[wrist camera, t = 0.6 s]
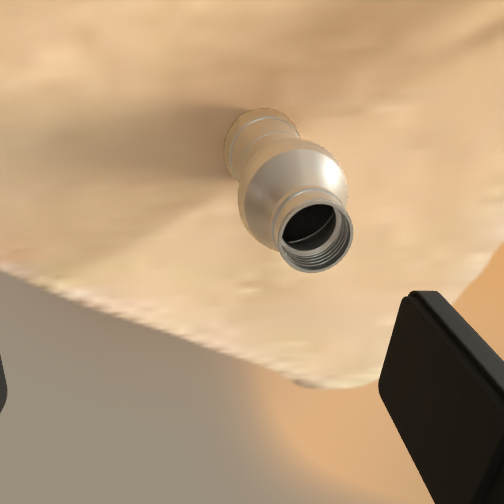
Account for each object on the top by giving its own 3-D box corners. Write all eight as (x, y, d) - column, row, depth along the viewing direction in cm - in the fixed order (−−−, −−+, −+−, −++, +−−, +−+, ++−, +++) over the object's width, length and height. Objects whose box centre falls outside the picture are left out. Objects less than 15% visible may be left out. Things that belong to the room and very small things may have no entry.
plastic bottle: (218, 178, 39) (239, 298, 21) (225, 98, 36) (256, 160, 18) (288, 183, 40) (365, 303, 22) (301, 107, 37) (400, 173, 19)
